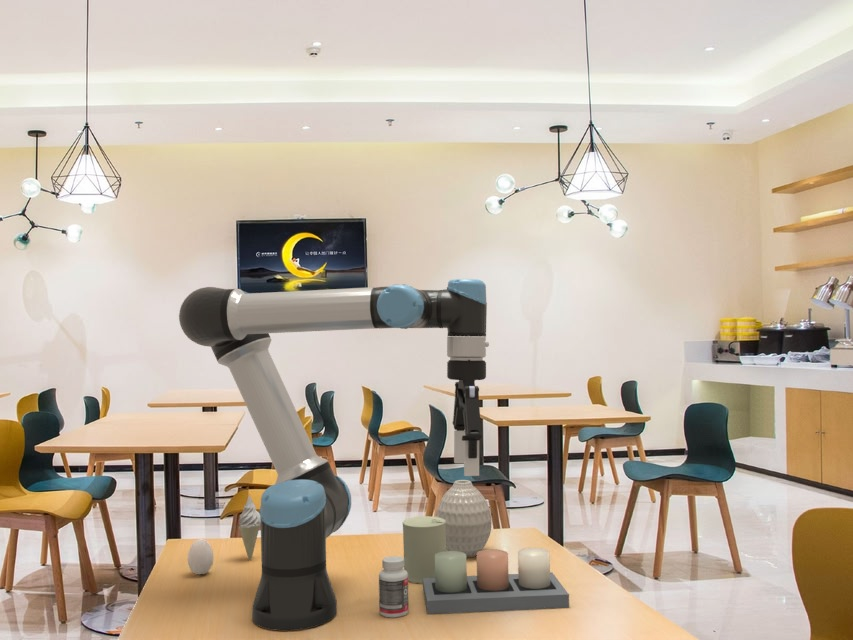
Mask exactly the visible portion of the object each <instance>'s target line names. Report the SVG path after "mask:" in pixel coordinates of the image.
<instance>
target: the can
mask: <svg viewBox="0 0 853 640" xmlns="http://www.w3.org/2000/svg"><path fill="white" fill-rule="evenodd" d="M402 539H403V540H402V542H403V558H404V564H405V565H404V567H403V569H404V570H406V571H407V573H408V583H413V584H421V585H423V578H435V554H437V553H439V552H443V551H447V550H446V521H445V520H444V519H443V518H439V517H436V516H429V515H427V516H425V515H424V516H423V515H422V516H413V517H408V518H405V519H404V520H403V521H402Z"/></svg>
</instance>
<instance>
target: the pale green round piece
mask: <svg viewBox="0 0 853 640" xmlns="http://www.w3.org/2000/svg"><path fill="white" fill-rule="evenodd" d="M467 569H468V566H467V558H466V554H465V553H463V552H459V551H447V550H446V551H443V552H439V553H437V554H435V588H436V589H437V590H438V591H441V592H448V593H453V592H460V591H463V590H465V589H467V576H468V574H467V573H468V572H467V571H468V570H467Z"/></svg>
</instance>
